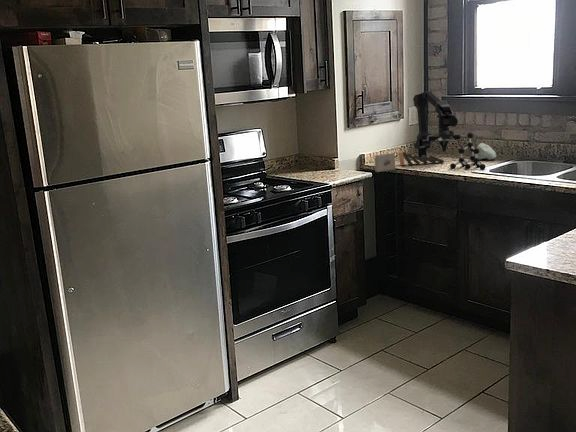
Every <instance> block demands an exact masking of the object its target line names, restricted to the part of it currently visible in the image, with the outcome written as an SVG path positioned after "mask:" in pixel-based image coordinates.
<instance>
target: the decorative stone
mask: <svg viewBox="0 0 576 432" xmlns="http://www.w3.org/2000/svg"><path fill="white" fill-rule="evenodd" d="M476 148H478V149H479V153H478V154H477V158H478V159H479V161H481V160H488V161H493V160H494V159H495V158H497V153H496V151H495V150H494V149H493V148H492V147H491V146H490V145H488V144H487V143H484V142H480V143H479V144H478V145H477V146H476Z"/></svg>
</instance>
